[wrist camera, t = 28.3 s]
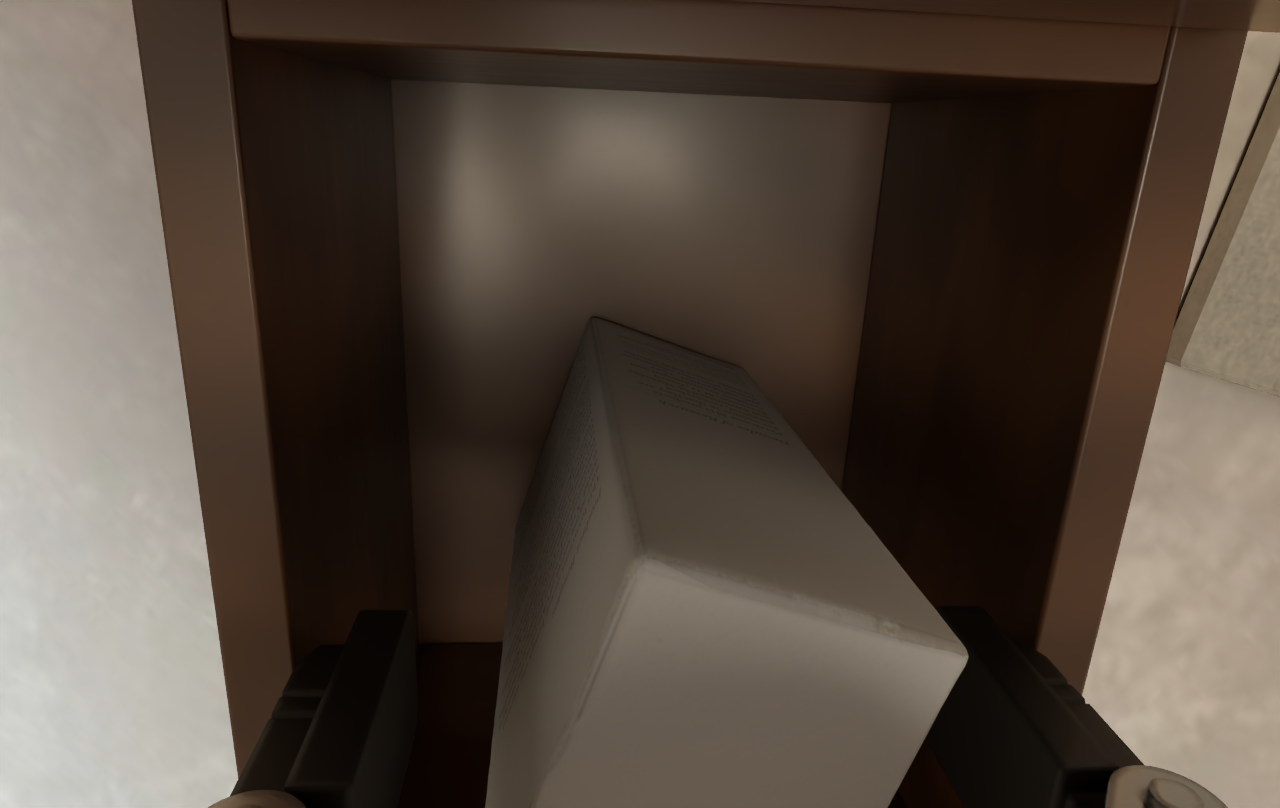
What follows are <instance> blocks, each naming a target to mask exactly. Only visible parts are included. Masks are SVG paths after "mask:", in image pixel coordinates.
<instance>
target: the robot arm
mask: <svg viewBox="0 0 1280 808" xmlns="http://www.w3.org/2000/svg"><path fill="white" fill-rule="evenodd" d="M933 607H934V608H935V609H936V611H937V612H938V613H939V615H940V616H941V617H942V619H943V620H944V621H945V622H946V624H947V625H948V626H949V628H950V629H951V630H952V631H953V633H954V634H955V635H956V636H957V638H958V639H959V640H960V641H961V642H962V644H963V645H964V647H965V648H966V650H967V653H968V656H969V657H968V660H967V663H966V665H965V667H964V669H963V671H962V672H961V674H960V676H959V677H958V679H957V681H956V682H955V684H954V686H953V688H952V689H951V691H950V693H949V695H948V697H947V698H946V700H945V702H944V704H943V705H942V707H941V709H940V711H939V713H938V715H937V716H936V718H935V720H934V722H933V724H932V726H931V728H930V730H929V732H928V734H927V736H926V737H925V741H926V743H927V744H928V746H929V748H930V750H931V751H932V753H933V755H934V756H935V758H936V760H937V762H938V763H939V765H940V767H941V769H942V770H943V772H944V774H945V775H946V777H947V779H948V781H949V782H950V784H951V786H952V787H953V789H954V791H955V793H956V794H957V796H958V798H959V799H960V801H961V803H962V805H963V806H964V808H1228V807H1227V806H1226V805H1225V804H1224V803H1223V802H1222V801H1221V800H1220V799H1219V798H1217V797H1216V796H1215V795H1214V794H1212V793H1211V792H1210V791H1208V790H1207V789H1205V788H1204V787H1202V786H1201V785H1199V784H1197V783H1196V782H1194V781H1192V780H1190V779H1188V778H1186V777H1184V776H1181V775H1179V774H1176V773H1174V772H1171V771H1168V770H1165V769H1161V768H1157V767H1152V766H1145V765H1144V764H1143V763H1142V762H1141V761H1140V760H1139V759H1138V758H1137V757H1136V755H1135V754H1134V753H1133V752H1132V751H1131V750H1130V749H1129V748H1128V747H1127V745H1126V744H1125V743H1124V742H1123V741H1122V740H1121V739H1120V738H1119V737H1118V735H1117V734H1116V733H1115V732H1114V731H1113V730H1112V729H1111V728H1110V727H1109V725H1108V724H1107V723H1106V722H1105V721H1104V720H1103V719H1102V718H1101V717H1100V716H1099V714H1098V713H1097V712H1096V711H1095V710H1094V709H1093V708H1092V707H1091V706H1090V704H1085V699H1084V698H1083V697H1082V696H1081V694H1080V693H1079V692H1078V691H1077V690H1076V689H1075V688H1074V687H1073V686H1072V685H1068V680H1067V679H1066V678H1065V677H1064V676H1063V674H1062V673H1061V672H1060V671H1059V670H1058V669H1057V668H1056V667H1055V666H1054V664H1053V663H1052V662H1051V661H1050V660H1049V659H1048V658H1047V657H1046V656H1044V655H1043V654H1041V653H1040V652H1038V651H1037V650H1035V649H1034V648H1032V647H1030V646H1029V645H1027V644H1026V643H1024V642H1023V641H1021V640H1020V639H1018V638H1017V637H1008V636H1007V635H1006V634H1005V632H1004V631H1003V630H1002V629H1001V628H1000V627H999V625H998V624H997V623H996V622H995V621H994V620H993V618H992V617H991V616H990V615H989V614H988V613H987V612H986V610H985V609H983V608H982V607H980V606H933ZM417 712H418V689H417V669H416V649H415V629H414V617H413V613H412V610H361V611H360V612H359V613H358V615H357V617H356V620H355V622H354V624H353V627H352V629H351V631H350V634H349V636H348V638H347V641H346V643H345V644H336V645H320V646H319V647H317V648H316V649H315V650H314V651H313V652H312V653H310V654H309V655H308V656H307V657H306V658H305V659H304V660H302V661H301V662H300V663H299V664H298V665H297V666H295V668H294V670H293V672H292V674H291V676H290V678H289V680H288V682H287V684H286V686H285V688H284V690H283V692H282V697H280V698H279V700H278V702H277V704H276V706H275V708H274V710H273V712H272V716H271V719H269V720H268V722H267V724H266V726H265V728H264V730H263V732H262V734H261V736H260V738H259V740H258V742H257V744H256V745H255V747H254V749H253V751H252V753H251V755H250V757H249V759H248V761H247V763H246V765H245V767H244V769H243V771H242V773H241V775H240V777H239V779H238V781H237V783H236V785H235V787H234V789H233V791H232V793H231V795H230V797H228V798H225V799H223V800H221V801H219V802H217V803H215V804H213V805H211V806H210V807H208V808H397V807H398V803H399V799H400V795H401V791H402V787H403V783H404V779H405V775H406V771H407V767H408V763H409V759H410V755H411V751H412V747H413V743H414V738H415V732H416V724H417Z"/></svg>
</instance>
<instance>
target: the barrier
mask: <svg viewBox="0 0 1280 808" xmlns="http://www.w3.org/2000/svg"><path fill="white" fill-rule="evenodd" d="M1166 361H1168V362H1171V363H1173V364H1176V365H1179V366H1181V367H1184V368H1187V369H1191V370H1194V371H1197V372H1201V373H1204V374H1207V375H1210V376H1214V377H1217V378H1220V379H1224V380H1227V381H1230V382H1234V383H1237V384H1240V385H1243V386H1247V387H1250V388H1253V389H1257V390H1260V391H1263V392H1266V393H1270V394H1273V395H1276V396H1280V73H1279V75H1278V78H1277V80H1276V83H1275V85H1274V87H1273V90H1272V92H1271V95H1270V97H1269V100H1268V102H1267V104H1266V107H1265V109H1264V112H1263V114H1262V116H1261V119H1260V121H1259V124H1258V126H1257V129H1256V131H1255V133H1254V136H1253V138H1252V141H1251V143H1250V145H1249V148H1248V150H1247V153H1246V155H1245V157H1244V160H1243V162H1242V165H1241V167H1240V170H1239V172H1238V174H1237V177H1236V179H1235V182H1234V184H1233V186H1232V189H1231V191H1230V194H1229V196H1228V199H1227V201H1226V203H1225V206H1224V208H1223V211H1222V213H1221V215H1220V218H1219V220H1218V223H1217V225H1216V228H1215V230H1214V232H1213V235H1212V237H1211V240H1210V242H1209V244H1208V247H1207V249H1206V252H1205V254H1204V257H1203V259H1202V261H1201V264H1200V266H1199V269H1198V271H1197V273H1196V276H1195V278H1194V281H1193V283H1192V286H1191V288H1190V290H1189V293H1188V295H1187V298H1186V300H1185V302H1184V305H1183V307H1182V310H1181V312H1180V315H1179V317H1178V319H1177V322H1176V324H1175V327H1174V329H1173V333H1172V337H1171V341H1170V345H1169V349H1168V353H1167V357H1166Z"/></svg>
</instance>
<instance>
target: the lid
mask: <svg viewBox="0 0 1280 808" xmlns="http://www.w3.org/2000/svg"><path fill="white" fill-rule="evenodd" d="M731 1H748V2H765V3H783V4H800V5H817V6H834V7H851V8H868V9H885V10H902V11H919V12H936V13H953V14H970V15H988V16H1005V17H1022V18H1039V19H1056V20H1073V21H1090V22H1107V23H1124V24H1141V25H1158V26H1175V27H1193V28H1210V29H1227V30H1244V31H1261V32H1280V0H731Z"/></svg>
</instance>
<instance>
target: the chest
mask: <svg viewBox="0 0 1280 808" xmlns="http://www.w3.org/2000/svg"><path fill="white" fill-rule="evenodd" d="M132 4H133V12H134V19H135V26H136V34H137V41H138V48H139V56H140V63H141V70H142V77H143V85H144V92H145V99H146V107H147V114H148V121H149V129H150V136H151V143H152V150H153V158H154V165H155V172H156V180H157V187H158V194H159V202H160V209H161V216H162V224H163V231H164V238H165V245H166V253H167V260H168V267H169V275H170V282H171V289H172V297H173V304H174V311H175V319H176V326H177V333H178V340H179V348H180V355H181V362H182V370H183V377H184V384H185V392H186V399H187V406H188V413H189V421H190V428H191V435H192V443H193V450H194V457H195V465H196V472H197V479H198V487H199V494H200V501H201V508H202V516H203V523H204V530H205V538H206V545H207V552H208V560H209V567H210V574H211V582H212V589H213V596H214V603H215V611H216V618H217V625H218V633H219V640H220V647H221V655H222V662H223V669H224V676H225V684H226V691H227V698H228V706H229V713H230V720H231V728H232V735H233V742H234V750H235V757H236V764H237V771H238V779H239V777H240V775H241V773H242V771H243V769H244V767H245V765H246V763H247V761H248V759H249V757H250V755H251V753H252V751H253V749H254V747H255V745H256V744H257V742H258V740H259V738H260V736H261V734H262V732H263V730H264V728H265V726H266V724H267V722H268V720H269V719H271V716H272V712H273V710H274V708H275V706H276V704H277V702H278V700H279V698H280V697H282V692H283V690H284V688H285V686H286V684H287V682H288V680H289V678H290V676H291V674H292V672H293V670H294V668H295V666H297V665H298V664H299V663H300V662H301V661H302V660H304V659H305V658H306V657H307V656H308V655H309V654H310V653H312V652H313V651H314V650H315V649H316V648H317V647H319V646H320V645H336V644H345V643H346V641H347V638H348V636H349V634H350V631H351V629H352V627H353V624H354V622H355V620H356V617H357V615H358V613H359V612H360V611H361V610H412V613H413V617H414V629H415V649H416V669H417V689H418V712H417V724H416V732H415V738H414V743H413V747H412V751H411V755H410V759H409V763H408V767H407V771H406V775H405V779H404V783H403V787H402V791H401V795H400V799H399V803H398V807H397V808H485V804H486V796H487V787H488V776H489V768H490V760H491V748H492V738H493V730H494V718H495V711H496V703H497V694H498V685H499V675H500V666H501V658H502V649H503V638H504V629H505V619H506V607H507V599H508V590H509V579H510V570H511V562H512V554H513V546H514V534H515V527H516V524H517V522H518V519H519V516H520V514H521V511H522V508H523V505H524V502H525V499H526V496H527V494H528V491H529V488H530V485H531V482H532V479H533V477H534V474H535V471H536V468H537V465H538V462H539V459H540V456H541V454H542V451H543V448H544V445H545V442H546V439H547V436H548V434H549V431H550V428H551V425H552V422H553V420H554V417H555V414H556V411H557V408H558V406H559V403H560V400H561V397H562V394H563V391H564V389H565V386H566V383H567V380H568V377H569V374H570V372H571V369H572V366H573V363H574V360H575V358H576V355H577V352H578V349H579V346H580V344H581V341H582V338H583V335H584V332H585V330H586V327H587V324H588V322H589V320H590V319H591V318H599V319H603V320H606V321H609V322H611V323H614V324H617V325H620V326H623V327H626V328H628V329H631V330H634V331H637V332H640V333H643V334H646V335H648V336H651V337H654V338H657V339H660V340H663V341H666V342H669V343H671V344H674V345H677V346H680V347H682V348H685V349H688V350H691V351H693V352H696V353H699V354H702V355H704V356H707V357H710V358H713V359H716V360H720V361H723V362H726V363H729V364H733V365H736V366H738V367H740V368H742V369H745V370H746V371H747V372H748V374H749V375H750V376H751V377H752V379H753V380H754V381H755V382H756V384H757V385H758V386H759V388H760V389H761V390H762V391H763V393H764V394H765V395H766V396H767V398H768V399H769V400H770V401H771V402H772V404H773V405H774V406H775V408H776V409H777V410H778V412H779V413H780V414H781V415H782V416H783V418H784V419H785V420H786V422H787V423H788V424H789V426H790V427H791V428H792V429H793V431H794V432H795V433H796V434H797V436H798V437H799V438H800V439H801V441H802V442H803V443H804V444H805V446H806V447H807V448H808V450H809V451H810V452H811V453H812V455H813V456H814V457H815V458H816V460H817V461H818V462H819V463H820V465H821V466H822V467H823V469H824V470H825V471H826V473H827V474H828V475H829V476H830V478H831V479H832V480H833V481H834V483H835V484H836V485H837V486H838V488H839V489H840V490H841V491H842V493H843V494H844V495H845V497H846V498H847V499H848V500H849V501H850V502H851V504H852V505H853V506H854V507H855V509H856V510H857V511H858V513H859V514H860V515H861V517H862V518H863V519H864V521H865V522H866V523H867V524H868V525H869V526H870V527H871V528H872V530H873V531H874V533H875V534H876V535H877V537H878V538H879V539H880V541H881V542H882V543H883V544H884V546H885V547H886V548H887V549H888V551H889V552H890V553H891V554H892V556H893V557H894V558H895V559H896V561H897V562H898V563H899V565H900V566H901V567H902V568H903V570H904V571H905V572H906V573H907V575H908V576H909V577H910V579H911V580H912V581H913V582H914V584H915V585H916V586H917V587H918V589H919V590H920V591H921V592H922V594H923V595H924V596H925V597H926V598H927V600H928V601H929V602H930V603H931V604H932V606H980V607H982V608H983V609H985V610H986V612H987V613H988V614H989V615H990V616H991V617H992V618H993V620H994V621H995V622H996V623H997V624H998V625H999V627H1000V628H1001V629H1002V630H1003V631H1004V632H1005V634H1006V635H1007V636H1008V637H1017V638H1018V639H1020V640H1021V641H1023V642H1024V643H1026V644H1027V645H1029V646H1030V647H1032V648H1034V649H1035V650H1037V651H1038V652H1040V653H1041V654H1043V655H1044V656H1046V657H1047V658H1048V659H1049V660H1050V661H1051V662H1052V663H1053V664H1054V666H1055V667H1056V668H1057V669H1058V670H1059V671H1060V672H1061V673H1062V674H1063V676H1064V677H1065V678H1066V679H1067V680H1068V685H1072V686H1073V687H1074V688H1075V689H1076V690H1077V691H1078V692H1079V693H1080V694H1081V696H1082V693H1083V689H1084V685H1085V681H1086V677H1087V673H1088V669H1089V665H1090V661H1091V657H1092V653H1093V649H1094V645H1095V641H1096V637H1097V633H1098V629H1099V625H1100V621H1101V617H1102V613H1103V609H1104V605H1105V601H1106V597H1107V593H1108V589H1109V585H1110V581H1111V577H1112V573H1113V569H1114V565H1115V561H1116V557H1117V553H1118V549H1119V545H1120V541H1121V537H1122V533H1123V529H1124V525H1125V521H1126V517H1127V513H1128V509H1129V505H1130V501H1131V497H1132V493H1133V489H1134V485H1135V481H1136V477H1137V473H1138V469H1139V465H1140V461H1141V457H1142V453H1143V449H1144V445H1145V441H1146V437H1147V433H1148V429H1149V425H1150V421H1151V417H1152V413H1153V409H1154V405H1155V401H1156V397H1157V393H1158V389H1159V385H1160V381H1161V377H1162V373H1163V369H1164V365H1165V361H1166V357H1167V353H1168V349H1169V345H1170V341H1171V337H1172V333H1173V329H1174V325H1175V321H1176V317H1177V313H1178V309H1179V305H1180V301H1181V297H1182V293H1183V289H1184V285H1185V281H1186V276H1187V272H1188V268H1189V264H1190V260H1191V256H1192V252H1193V248H1194V244H1195V240H1196V236H1197V232H1198V228H1199V224H1200V220H1201V216H1202V212H1203V208H1204V204H1205V200H1206V196H1207V192H1208V188H1209V184H1210V180H1211V176H1212V172H1213V168H1214V164H1215V160H1216V156H1217V152H1218V148H1219V144H1220V140H1221V136H1222V132H1223V128H1224V124H1225V120H1226V116H1227V112H1228V108H1229V104H1230V100H1231V96H1232V92H1233V88H1234V84H1235V80H1236V76H1237V72H1238V68H1239V64H1240V60H1241V56H1242V52H1243V48H1244V44H1245V40H1246V36H1247V32H1248V31H1244V30H1227V29H1210V28H1193V27H1175V26H1158V25H1141V24H1124V23H1107V22H1090V21H1073V20H1056V19H1039V18H1022V17H1005V16H988V15H970V14H953V13H936V12H919V11H902V10H885V9H868V8H851V7H834V6H817V5H800V4H783V3H765V2H748V1H731V0H132ZM888 808H964V806H963V805H962V803H961V801H960V799H959V798H958V796H957V794H956V793H955V791H954V789H953V787H952V786H951V784H950V782H949V781H948V779H947V777H946V775H945V774H944V772H943V770H942V769H941V767H940V765H939V763H938V762H937V760H936V758H935V756H934V755H933V753H932V751H931V750H930V748H929V746H928V744H927V743H926V741H925V739H924V741H923V743H922V745H921V747H920V749H919V750H918V752H917V754H916V756H915V758H914V760H913V762H912V763H911V765H910V767H909V769H908V771H907V773H906V774H905V776H904V778H903V780H902V782H901V784H900V786H899V787H898V789H897V791H896V793H895V795H894V797H893V799H892V800H891V802H890V804H889V806H888Z"/></svg>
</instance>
